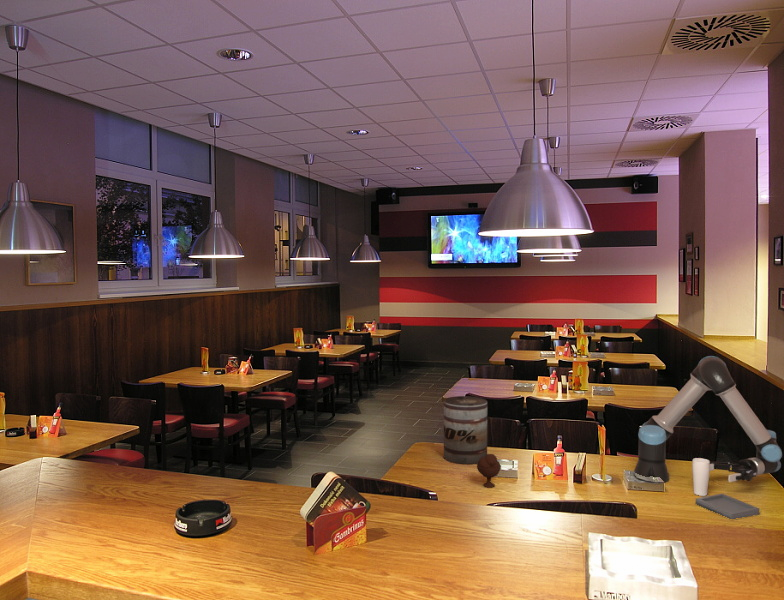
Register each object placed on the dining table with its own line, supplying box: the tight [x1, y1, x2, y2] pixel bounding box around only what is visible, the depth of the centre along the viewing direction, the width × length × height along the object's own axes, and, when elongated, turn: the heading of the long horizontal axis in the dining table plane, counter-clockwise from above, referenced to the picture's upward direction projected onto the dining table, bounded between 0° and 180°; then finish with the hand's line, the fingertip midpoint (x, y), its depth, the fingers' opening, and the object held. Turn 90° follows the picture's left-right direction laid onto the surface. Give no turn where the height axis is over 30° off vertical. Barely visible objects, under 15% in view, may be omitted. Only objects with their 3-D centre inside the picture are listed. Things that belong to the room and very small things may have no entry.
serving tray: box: [695, 493, 760, 520], centre depth 245 cm, size 17×15×2 cm
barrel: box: [443, 395, 488, 466], centre depth 313 cm, size 22×22×30 cm
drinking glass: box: [691, 457, 711, 497], centre depth 261 cm, size 7×7×15 cm
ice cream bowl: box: [476, 453, 502, 489], centre depth 273 cm, size 11×11×15 cm
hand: (715, 473), depth 263 cm, fingers open, 13 cm apart
